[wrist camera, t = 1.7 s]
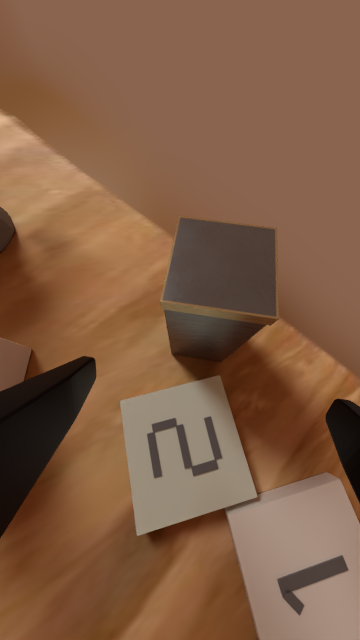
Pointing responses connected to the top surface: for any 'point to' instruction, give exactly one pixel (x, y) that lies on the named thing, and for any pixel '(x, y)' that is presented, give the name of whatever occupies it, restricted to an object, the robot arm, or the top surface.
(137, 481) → the tile
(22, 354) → the medicine bottle
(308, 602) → the tile
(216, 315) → the tea tin
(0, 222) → the coffeepot
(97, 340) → the top surface
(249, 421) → the top surface
